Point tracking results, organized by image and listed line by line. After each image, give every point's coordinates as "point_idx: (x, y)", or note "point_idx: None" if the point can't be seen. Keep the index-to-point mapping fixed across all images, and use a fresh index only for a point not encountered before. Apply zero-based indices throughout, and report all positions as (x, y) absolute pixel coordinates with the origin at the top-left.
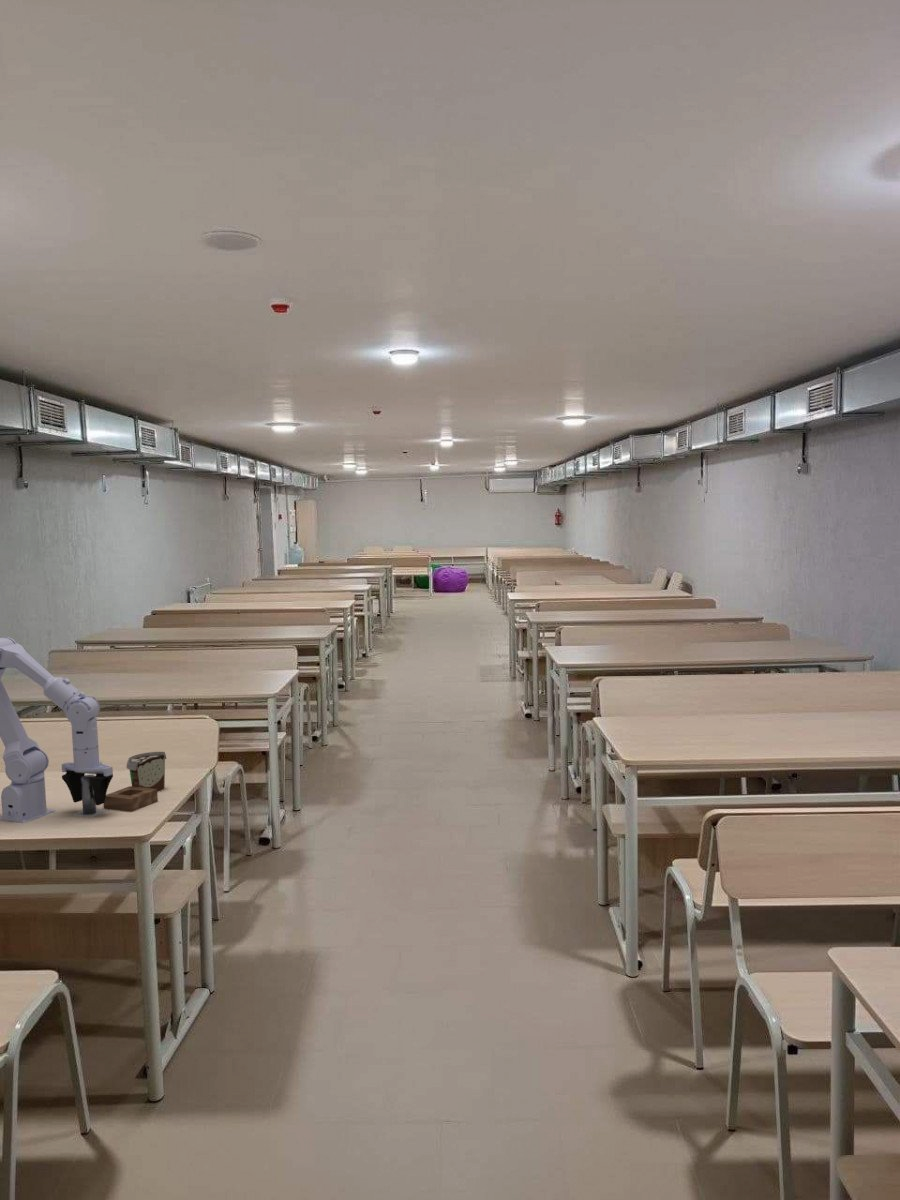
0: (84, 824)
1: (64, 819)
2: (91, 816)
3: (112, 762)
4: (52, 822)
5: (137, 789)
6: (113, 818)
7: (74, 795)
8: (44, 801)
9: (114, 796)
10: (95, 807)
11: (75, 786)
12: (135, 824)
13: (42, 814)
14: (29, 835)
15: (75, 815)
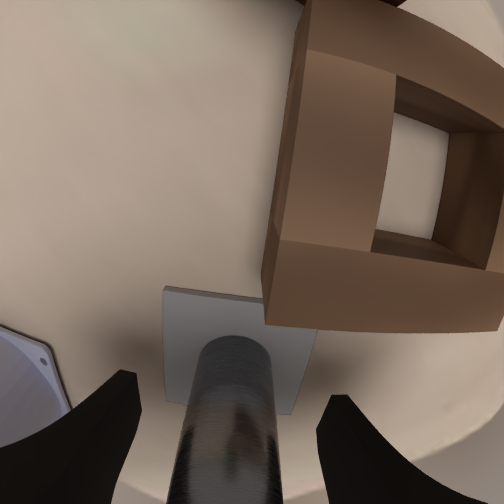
0: (307, 443)
1: (169, 417)
2: (290, 403)
3: None
4: (156, 439)
5: (456, 85)
6: (397, 372)
7: (127, 446)
8: (24, 413)
9: (383, 316)
10: (271, 377)
11: (104, 485)
12: (482, 383)
13: (57, 396)
14: None
15: None
